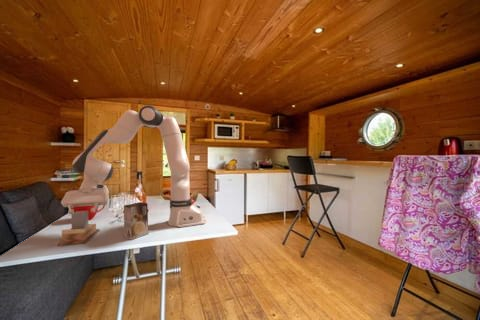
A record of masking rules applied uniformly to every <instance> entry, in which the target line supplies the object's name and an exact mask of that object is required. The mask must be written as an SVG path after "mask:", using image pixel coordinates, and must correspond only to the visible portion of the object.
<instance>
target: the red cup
mask: <svg viewBox="0 0 480 320" xmlns="http://www.w3.org/2000/svg"><path fill="white" fill-rule="evenodd" d="M94 206H95V205H94ZM94 206H77V207H73V208H72V209H73V210H74V212H73V213H75V212H77V211H88V221H91V220H93V219H94V218H95V216H96V215H97V213H99V212H101V211H103V209H105V206H106V205H102V208H100V209H98V208H99V207H98V208H97V209H96V210H95V212H92V213H91V208H93V207H94Z"/></svg>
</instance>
